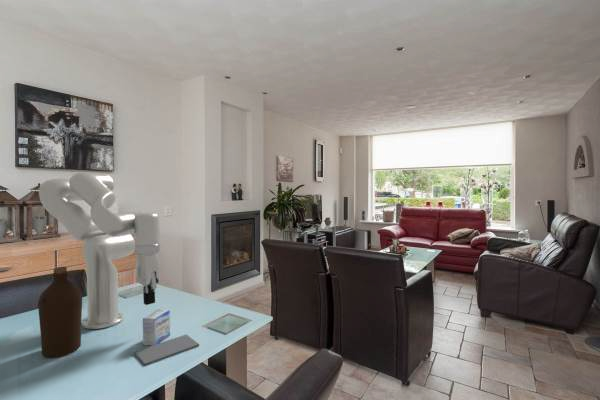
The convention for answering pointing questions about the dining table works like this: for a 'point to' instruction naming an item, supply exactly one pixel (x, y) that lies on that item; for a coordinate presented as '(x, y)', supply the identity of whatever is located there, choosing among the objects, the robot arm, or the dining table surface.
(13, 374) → the dining table surface
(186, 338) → the mat
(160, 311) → the medicine box
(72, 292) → the olive oil
